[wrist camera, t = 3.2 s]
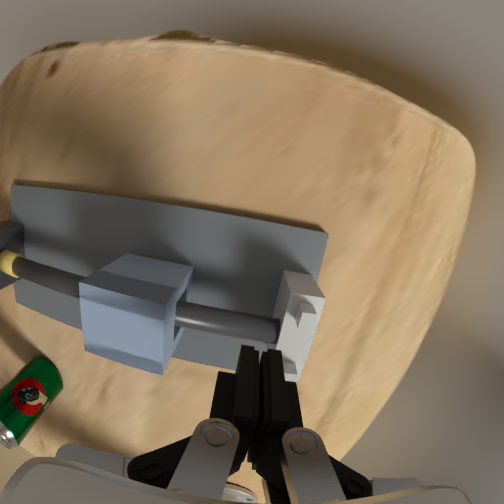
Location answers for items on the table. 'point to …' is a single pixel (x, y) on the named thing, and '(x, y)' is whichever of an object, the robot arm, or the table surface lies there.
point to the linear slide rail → (177, 251)
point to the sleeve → (134, 310)
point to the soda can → (27, 399)
